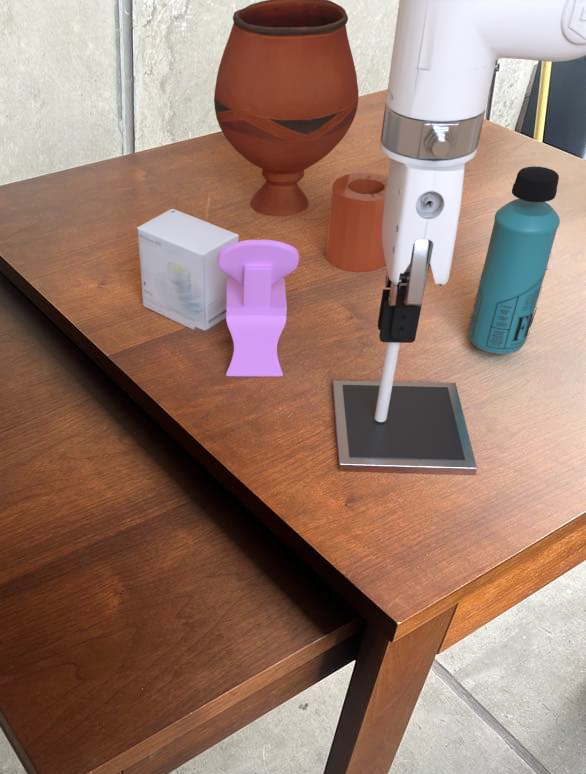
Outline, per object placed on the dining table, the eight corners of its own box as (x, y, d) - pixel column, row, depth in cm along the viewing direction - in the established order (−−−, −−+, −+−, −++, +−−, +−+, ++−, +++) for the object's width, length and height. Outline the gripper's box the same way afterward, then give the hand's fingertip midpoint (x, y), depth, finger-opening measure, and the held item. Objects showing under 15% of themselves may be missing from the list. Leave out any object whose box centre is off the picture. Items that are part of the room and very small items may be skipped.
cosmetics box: (140, 307, 106) (134, 225, 99) (175, 287, 109) (173, 206, 102) (203, 337, 101) (203, 253, 94) (239, 315, 104) (241, 232, 97)
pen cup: (384, 248, 115) (396, 172, 108) (390, 277, 110) (402, 200, 103) (324, 247, 116) (331, 172, 109) (326, 277, 110) (334, 200, 103)
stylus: (385, 415, 88) (409, 280, 77) (386, 422, 87) (411, 286, 76) (373, 415, 88) (396, 279, 77) (374, 422, 87) (397, 286, 76)
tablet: (454, 389, 93) (456, 381, 92) (475, 475, 83) (477, 467, 82) (331, 386, 93) (332, 379, 93) (338, 471, 84) (339, 463, 83)
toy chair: (289, 333, 101) (297, 208, 90) (292, 376, 95) (302, 247, 84) (218, 333, 102) (218, 208, 91) (216, 376, 95) (217, 248, 85)
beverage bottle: (509, 373, 94) (562, 192, 80) (452, 353, 97) (493, 175, 83) (532, 346, 98) (586, 168, 84) (476, 328, 101) (520, 153, 87)
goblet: (317, 173, 133) (333, -15, 115) (367, 227, 120) (394, 24, 102) (197, 189, 130) (195, -1, 112) (235, 247, 117) (240, 41, 99)
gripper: (498, 170, 62) (448, 384, 75) (464, 95, 73) (426, 293, 86) (391, 170, 62) (360, 382, 75) (374, 95, 73) (349, 292, 86)
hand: (395, 334), depth 80 cm, fingers closed on stylus, 1 cm apart
